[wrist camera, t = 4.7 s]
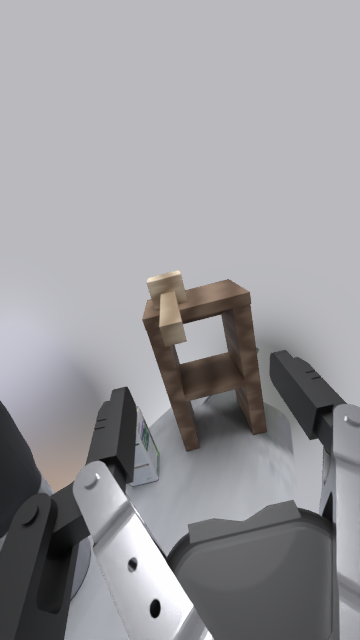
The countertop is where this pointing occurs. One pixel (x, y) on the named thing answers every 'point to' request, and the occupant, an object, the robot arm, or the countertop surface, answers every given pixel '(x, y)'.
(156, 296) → the mallet
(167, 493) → the countertop surface
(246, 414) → the shelf
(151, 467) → the syrup box
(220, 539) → the robot arm
